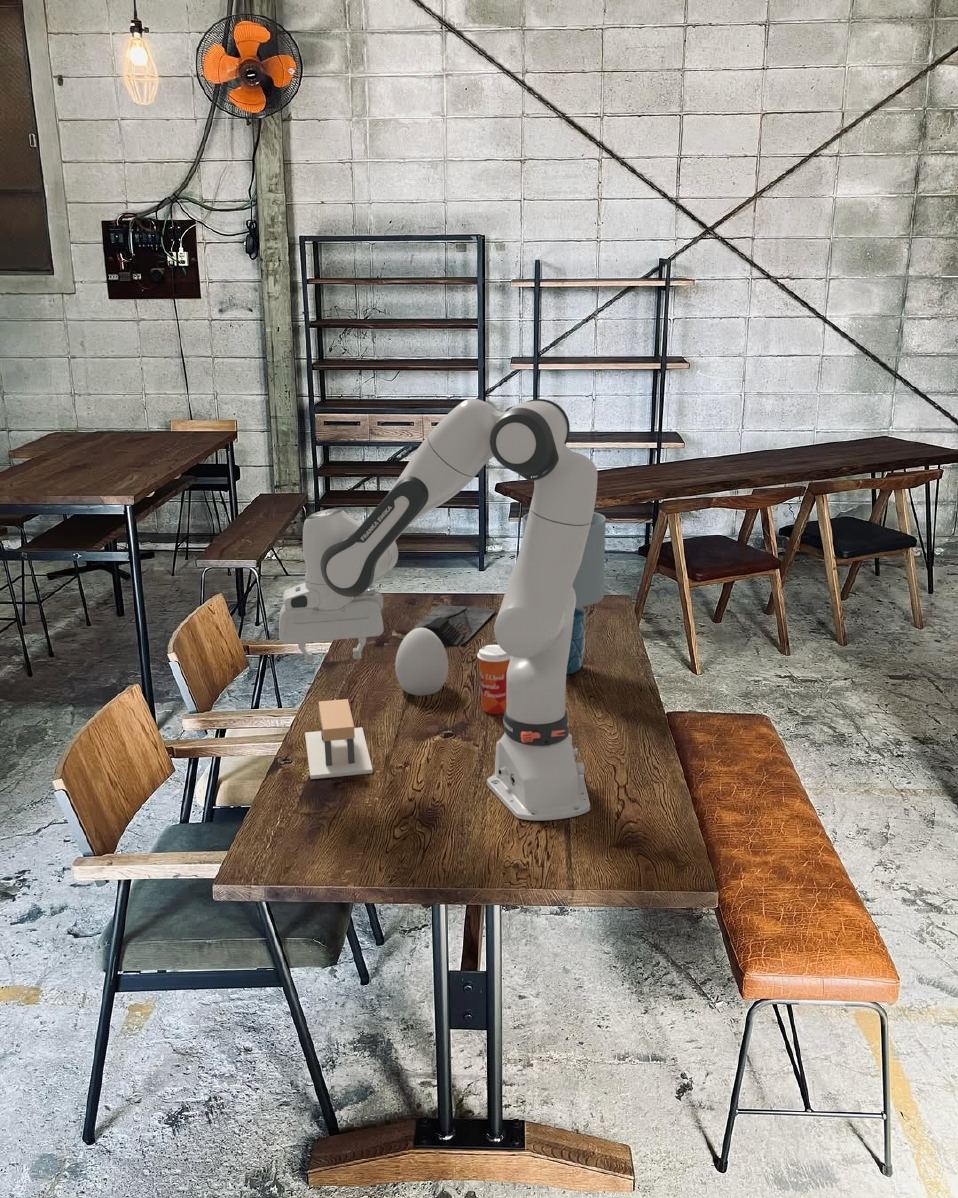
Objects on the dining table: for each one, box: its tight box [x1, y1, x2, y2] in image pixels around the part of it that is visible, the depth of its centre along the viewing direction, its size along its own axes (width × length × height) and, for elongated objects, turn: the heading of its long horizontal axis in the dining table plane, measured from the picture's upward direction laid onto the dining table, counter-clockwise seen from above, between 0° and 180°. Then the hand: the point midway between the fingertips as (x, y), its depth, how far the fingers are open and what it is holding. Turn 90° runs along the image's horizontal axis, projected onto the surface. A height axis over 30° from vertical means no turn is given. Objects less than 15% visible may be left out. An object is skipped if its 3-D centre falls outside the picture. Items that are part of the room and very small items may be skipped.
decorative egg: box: [394, 627, 449, 697], centre depth 244 cm, size 12×12×15 cm
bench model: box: [318, 698, 355, 766], centre depth 213 cm, size 14×6×8 cm, turn 12°
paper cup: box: [476, 644, 511, 715], centre depth 233 cm, size 8×8×14 cm
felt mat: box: [304, 726, 374, 780], centre depth 214 cm, size 20×12×1 cm, turn 12°
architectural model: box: [402, 604, 496, 647], centre depth 288 cm, size 17×6×30 cm
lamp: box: [522, 511, 607, 676], centre depth 252 cm, size 19×19×38 cm
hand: (333, 659), depth 208 cm, fingers open, 8 cm apart
